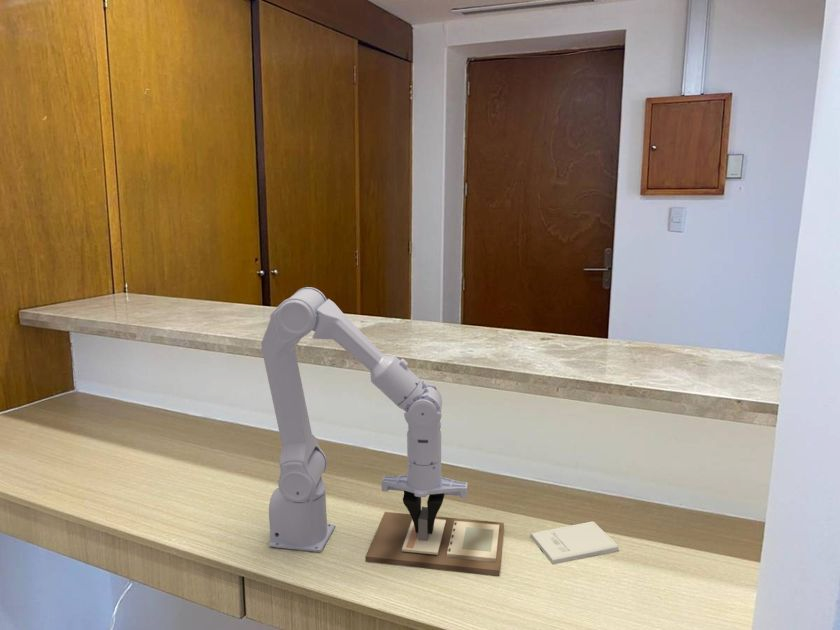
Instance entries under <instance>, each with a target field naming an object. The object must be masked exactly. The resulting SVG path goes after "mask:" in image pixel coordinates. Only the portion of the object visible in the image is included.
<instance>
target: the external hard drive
mask: <svg viewBox="0 0 840 630" xmlns="http://www.w3.org/2000/svg"><path fill="white" fill-rule="evenodd" d="M529 535H530V536H529V538H530V539H531V540H532V541H533V543H535V545H536V546H537V547H538V548H539V549H540V550H541V551H542V553H543V555H544V556H545V557H546V558H547V560H548V561H549V562H550V563H551V565H556V564H560V563H566V562H571V561H575V560H580V559H585V558H591V557H596V556H601V555H605V554H610V553H616V552H618V551H619V545H618V544H617V542H615V541H614V540H613V539H612V538H611V537H610V536H609V535H608V534H607V533H606V532H605V531H604V530H603V529H602V528H601V527H600V526H599V525H598V524H597V523H596V522H595V521H589V522H588V521H587V522H583V523H577V524H573V525H572V524H571V525H566V526H562V527H556V528H552V529H551V528H550V529H546V530H541V531H535V532H531V533H530V534H529Z"/></svg>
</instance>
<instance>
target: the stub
mask: <svg viewBox="0 0 840 630" xmlns="http://www.w3.org/2000/svg"><path fill="white" fill-rule="evenodd" d="M445 524H446V520H441V519H435V521H434V529H433V532H432V534H428V507H427V506H421V512H420V515H419V518H418V533H416V532H415V527H414V523H413V520H412V522H411V524H410V527H409V530H408V533H407V536H406V539H405V542H404V544H403V547H402V551H405V552H415V553H425V554H435V555H438V551H439V547H440V543H441V539H442V535H443V531H444V528H445Z"/></svg>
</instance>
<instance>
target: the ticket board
mask: <svg viewBox="0 0 840 630" xmlns="http://www.w3.org/2000/svg"><path fill="white" fill-rule="evenodd" d="M435 519H441V520H446V524H445V528H444V531H443V535H442V539H441V543H440V547H439V551H438V555H435V554H425V553H415V552H405V551H402V547H403V544H404V542H405V539H406V536H407V533H408V530H409V527H410V524H411V522H412V517H411V515H410V513H402V512H392V511H383V515H382V517H381V520H380V522H379V525H378V527H377V529H376V532H375V534H374V536H373V538H372V540H371V543H370V544H369V548H368V550H367V551H366V554H365V556H364V557H365V560H364V562H366V563H375V564H383V565H393V566H401V567H411V568H412V567H413V568H419V569H420V568H422V569H430V570H439V571H440V570H441V571H449V572H460V573H467V574H468V573H469V574H480V575H487V576H488V575H489V576H496V577H499V576H500V573H501V572H500V571H501V561H502V549H503V540H504V539H503V537H504V526H505V523H504V522H500V521H491V520H490V521H488V520H479V519H467V518H456V517H446V516H438V515H436V517H435Z"/></svg>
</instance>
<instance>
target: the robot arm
mask: <svg viewBox="0 0 840 630" xmlns="http://www.w3.org/2000/svg"><path fill="white" fill-rule="evenodd" d="M269 319H270V320H269V322H268V325H267V327H266V330H265V332H264V335H263V337H262V340H261V344H260V345H261V351H262V357H263V361H264V362H263V363H264V367H265V372H266V375H267V380H268V385H269V389H270V395H271V400H272V404H273V408H274V413H275V419H276V423H277V427H278V433H279V436H280V441H281V448H280V449H281V450H280V455H279V468H280V469H279V470H280V473H279V478H278V479H277V481H278V482H277V483H278V485H277V488H275V489H274V490H273V492H272V494H271V495H270V496H271V497H270V498H269V499H270V500H269V505H268V521H269V522H268V523H269V534H270V535H269V536H270V537H269V538H270V541H269V543H268V547H270V548H277V549H278V548H279V549H289V550H298V551H299V550H300V551H308V552H315V553H316V552H317V553H319V552H322V551H324V550H323V549H324V547H326V545H327V542H328V541H329V539H330V537H331V535H332V533H333V531H334V529H335V528H336V525H335V524H334V523H328V518H327V517H328V516H327V496H326V495H327V494H326V484H325V483H324V481H323V478H322V476H323V474H324V473H325V471H326V469H327V466H328V460H327V459H328V458H327V456H326V455H325V452H324V450H322V448H321V447H320V444H319V442H318V438H317V437H316V436H315V435H314V434H313V433H312V428H311V427H312V426H311V423H310V422H311V421H310V417H309V412H308V408H307V403H306V399H305V393H304V388H303V382H302V379H301V378H302V377H301V374H300V373H301V372H300V368H299V364H298V358H297V353H296V346H297V345H298V344H299V343H300V342H301V340H302V339H303V338H304V337H306V336H308V334H310V333H311V332H314V333H313V335H312V339H314V340H332V341H334V342H336V343H337V344H338V345H339V346H340V347H341V348H342V349H344V350H345V351H346V352H347V353H348V354H350V355H351V356H352V357H353V358H354V359H356V360H357V361H358V362H359V363H360V364H362V365H363V366H364V367H365V368H367V370H369V372H370V382H371V383H372V384H373V385H374V386H375V387H376V388H377V389H379V390H380V391H381V392H382V394H384V395H385V396H386V397H387V398H388V399H389V400H390V401H391V402H392V403H393V404H395V405H396V406H397V407H398V408H400V409H401V410H403V411H404V413H403V416H404V419H405V421H406V423H407V426H408V427H407V429H408V430H407V433H406V448H407V450H406V451H407V452H406V460H407V461H406V463H407V464H406V465H407V466H406V467H407V468H406V469H407V470H406V471H407V472H406V473H407V474H402V475H384V476H383V477H382V479H381V482H380V483H381V484H380V485H381V492H389V491H397V492H399V491H400V492H403V497H402V503H403V505H404V507H405V508H406V510H407V511H408V514H410V515H411V517H412V520H413V523H414V527H415V532H416V533H418V518H419V515H420V512H421V509H422V498H426V497H428V498H427V500H426V507H428V534H432V532H433V529H434V521H435V517H436V516H438V515H437V514H438V512H439V510H440V509H441V507H442V505H443V502H444V498H445V496H448V495H449V496H456V497H457V496H459V498H460V499H467V496H468V486H469V485H468V482H465V481H459V480H456V479H455V480H454V479H451V478H448V477H444V476H442V432H441V428H442V427H441V426H442V423H441V419H442V407H443V406H442V405H443V399H442V395H441V393H440V391H439V390H438V389H437V387H436V386H435V385H433V384H431V383H428V381H426V380H425V379H424V380H423V381H422V379H420V378H419V377H418V376H417V375H416V374H415V373H414V372H413V371H412V370H411V369H410V368H409V367H408V364H409V363H408V361H407V360H405V359H404V358H400V359H399V358H398V357H397V356H395V355H386V354H383V353H382V352H381V351H380V350H379V348H377V347H376V345H374V344H373V342H371V341H370V339H369V338H368V337H367V336H366V335H364V333H363V332H362V331H361V330H360V329H359V328H358V327H357V326H356V324H354V323H353V322H352V321H351V320H350V319H349V318H348V317H347V315H345V314H344V312H343V311H342V310H341V309H340V308H339V306H338V305H337V304H336V303H335V302H334V301H332V300H331V299H330V298H327V297H326V296H325V294H324V293H323V292H322V291H320V290H319V289H317V288H315V287H309V286H307V287H306V286H305V287H302V288H300V289H298V290H297V291H296V292H294V293H293V294H292V295H291V296H290V297H288V298H287V299H284V300H283V301H282V302H281V303H280V304H279V305H277V306H276V308H275V309H273V311H272V312H271V313H270V316H269Z"/></svg>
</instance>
